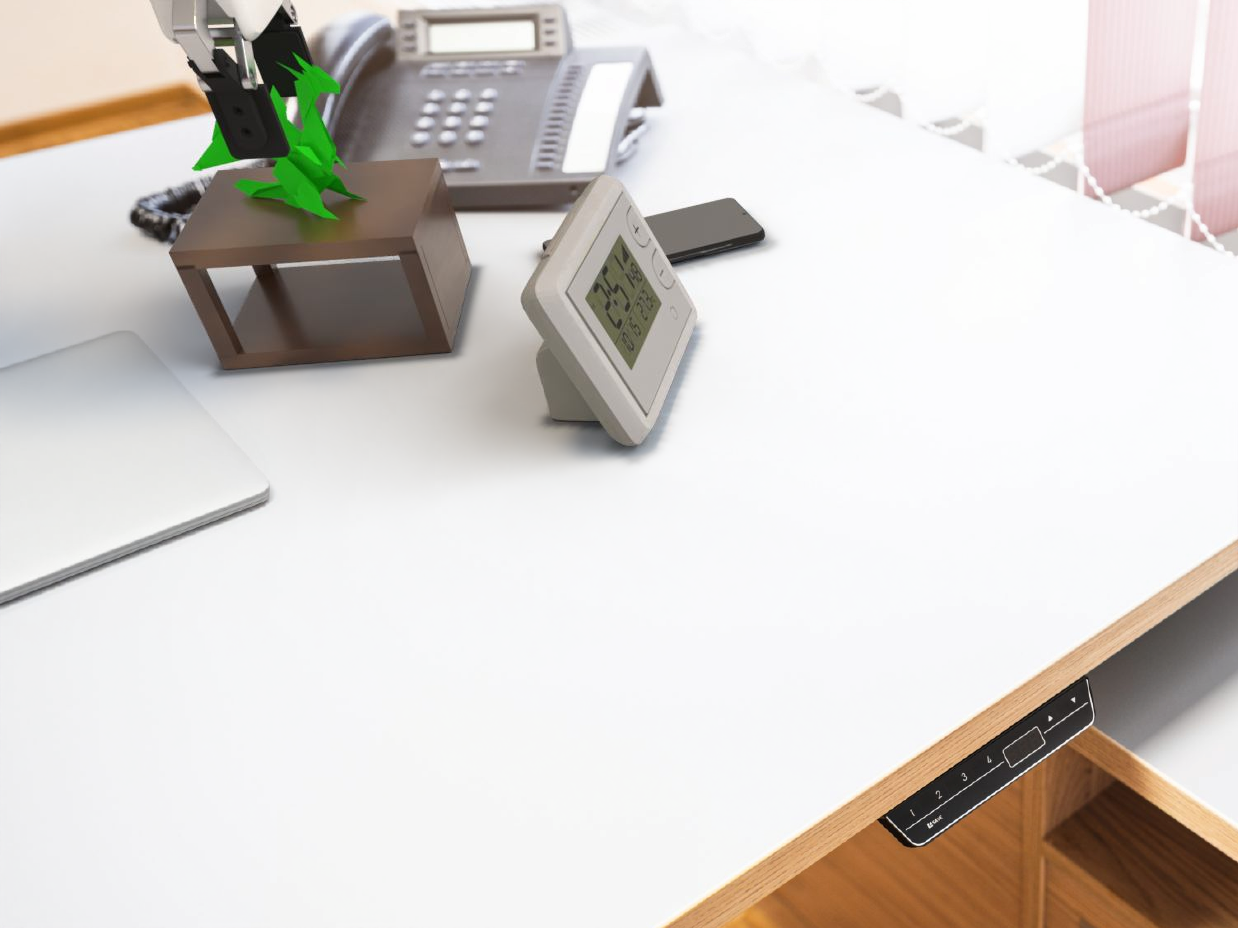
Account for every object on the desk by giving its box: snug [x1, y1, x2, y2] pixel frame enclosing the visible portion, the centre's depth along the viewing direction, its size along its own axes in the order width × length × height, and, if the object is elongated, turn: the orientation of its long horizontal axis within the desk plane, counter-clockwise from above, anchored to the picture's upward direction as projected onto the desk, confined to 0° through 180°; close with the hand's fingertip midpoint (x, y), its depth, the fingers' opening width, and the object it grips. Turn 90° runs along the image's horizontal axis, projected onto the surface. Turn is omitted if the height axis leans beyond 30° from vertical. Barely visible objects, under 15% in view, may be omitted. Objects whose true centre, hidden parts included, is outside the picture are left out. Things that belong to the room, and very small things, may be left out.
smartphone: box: [542, 197, 766, 264], centre depth 98 cm, size 7×1×15 cm
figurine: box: [191, 53, 366, 220], centre depth 82 cm, size 6×12×9 cm, turn 75°
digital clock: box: [520, 174, 698, 447], centre depth 81 cm, size 16×9×11 cm, turn 168°
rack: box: [168, 157, 473, 370], centre depth 88 cm, size 14×12×8 cm
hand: (280, 124), depth 81 cm, fingers open, 9 cm apart
